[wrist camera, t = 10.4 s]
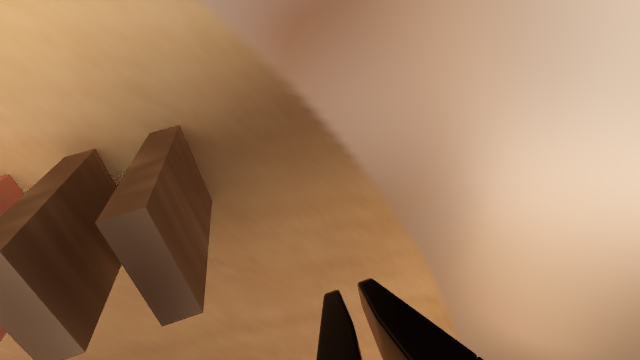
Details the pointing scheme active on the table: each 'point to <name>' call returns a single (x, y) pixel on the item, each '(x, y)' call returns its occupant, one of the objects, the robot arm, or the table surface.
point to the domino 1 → (8, 205)
